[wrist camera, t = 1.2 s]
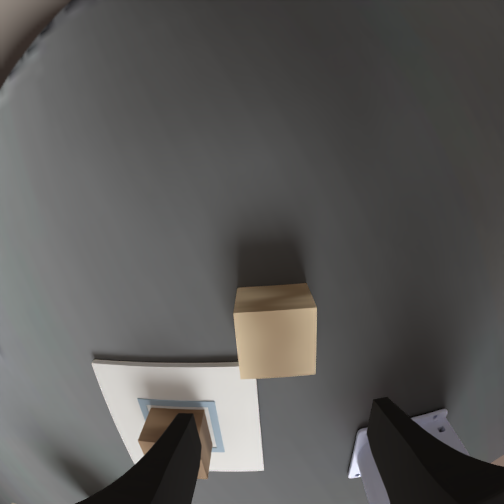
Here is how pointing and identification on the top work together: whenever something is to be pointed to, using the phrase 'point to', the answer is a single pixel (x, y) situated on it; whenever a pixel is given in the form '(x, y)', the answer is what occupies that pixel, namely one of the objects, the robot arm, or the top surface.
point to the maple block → (275, 331)
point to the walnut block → (162, 419)
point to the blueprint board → (187, 405)
